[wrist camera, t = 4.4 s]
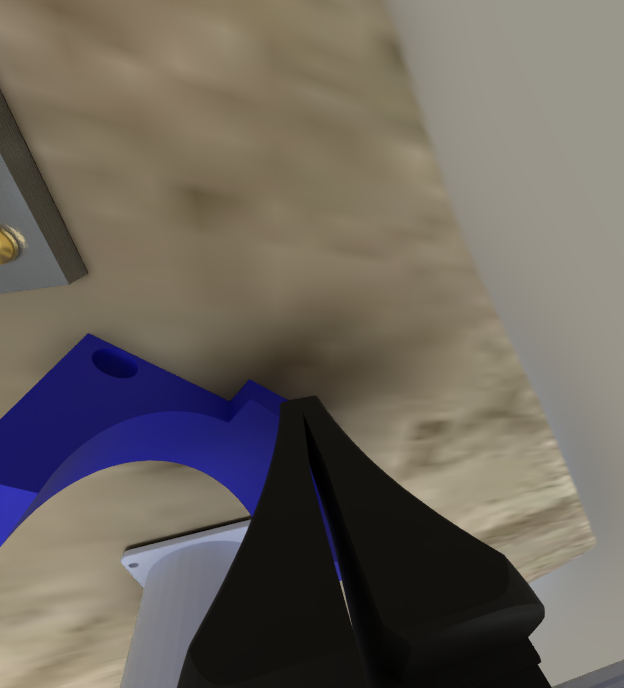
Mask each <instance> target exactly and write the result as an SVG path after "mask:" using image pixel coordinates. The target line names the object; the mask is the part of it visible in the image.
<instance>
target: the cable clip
mask: <svg viewBox="0 0 624 688" xmlns="http://www.w3.org/2000/svg"><path fill="white" fill-rule="evenodd" d="M285 401H288V400H287V399H285V398H283V397H281V396H279V395H277V394H276V393H274V392H272V391H270V390H268V389H266V388H265V387H263V386H261V385H259V384H257V383H255V382H253V381H252V380H250V379H249V380H248V382H247V383H246V384H245V385H244V386H243V387H242V388H241V390H240V391H239V392H238V393H237V394H236V395H235V396H234V398H233V399H232V400H231V401H228V400H226V399H224V398H222V397H219V396H217V395H215V394H213V393H211V392H209V391H207V390H205V389H203V388H201V387H199V386H197V385H195V384H193V383H190V382H188V381H186V380H184V379H182V378H180V377H178V376H176V375H174V374H172V373H170V372H168V371H166V370H164V369H161V368H159V367H157V366H155V365H153V364H151V363H149V362H147V361H145V360H143V359H141V358H139V357H137V356H135V355H132V354H130V353H128V352H126V351H124V350H122V349H120V348H118V347H116V346H114V345H112V344H110V343H108V342H106V341H103V340H101V339H99V338H97V337H95V336H93V335H91V334H89V333H88V334H87V335H86V336H85V337H84V338H83V339H82V340H81V341H80V342H79V343H78V344H77V345H76V346H75V347H74V348H73V349H72V350H71V351H70V352H69V353H68V354H67V355H66V356H65V357H64V358H62V359H61V360H60V361H59V362H58V363H57V364H56V365H55V366H54V367H53V368H52V369H51V370H50V371H49V372H48V373H47V374H46V375H45V376H44V377H43V378H42V379H41V380H40V381H39V382H38V383H37V384H36V385H35V386H34V387H33V388H32V389H31V390H30V391H29V392H28V393H27V394H26V395H25V396H24V397H23V398H22V399H21V400H20V401H19V402H18V403H17V404H16V405H15V406H14V407H13V408H11V409H10V410H9V411H8V412H7V413H6V414H5V415H4V416H3V417H2V418H1V419H0V547H1V546H2V544H3V543H4V542H5V541H6V540H7V539H8V537H9V536H10V535H11V534H12V533H13V532H14V531H15V529H16V528H17V527H18V526H19V525H20V524H21V523H22V522H23V521H24V520H25V519H26V518H27V517H28V516H29V515H30V514H32V513H33V512H34V511H35V510H36V509H37V508H38V507H40V506H41V505H42V504H43V503H44V502H46V501H47V500H48V499H49V498H51V497H52V496H54V495H55V494H56V493H58V492H59V491H61V490H62V489H64V488H65V487H67V486H69V485H70V484H72V483H74V482H76V481H78V480H79V479H81V478H83V477H85V476H88V475H90V474H92V473H94V472H97V471H99V470H102V469H105V468H108V467H111V466H115V465H119V464H123V463H128V462H135V461H147V460H156V461H168V462H175V463H179V464H183V465H186V466H189V467H192V468H195V469H197V470H200V471H202V472H204V473H206V474H208V475H209V476H211V477H213V478H214V479H216V480H217V481H219V482H220V483H222V484H223V485H224V486H225V487H227V488H228V489H229V490H230V491H231V492H232V493H233V494H234V495H235V496H236V497H237V498H238V499H239V500H240V501H241V503H242V504H243V505H244V506H245V507H246V509H247V510H248V512H249V513H250V514H251V516H252V517H253V514H254V512H255V509H256V506H257V504H258V501H259V498H260V495H261V493H262V490H263V487H264V484H265V480H266V477H267V474H268V470H269V467H270V463H271V459H272V456H273V452H274V447H275V442H276V437H277V432H278V425H279V416H280V407H279V405H280V404H281V403H282V402H285ZM310 470H311V468H310ZM311 475H312V472H311ZM312 479H313V483H314V487H315V491H316V495H317V499H318V502H319V506H320V510H321V514H322V518H323V522H324V526H325V530H326V533H327V537H328V541H329V545H330V548H331V552H332V556H333V560H334V564H335V567H336V571H337V575H338V578H339V581H341V580H342V578H341V574H340V570H339V565H338V561H337V557H336V552H335V548H334V544H333V539H332V536H331V532H330V529H329V525H328V522H327V519H326V516H325V512H324V509H323V506H322V503H321V500H320V497H319V494H318V490H317V487H316V484H315V481H314V478H313V475H312Z"/></svg>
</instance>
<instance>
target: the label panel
mask: <svg viewBox="0 0 624 688" xmlns="http://www.w3.org/2000/svg"><path fill="white" fill-rule="evenodd" d="M86 274H88V273H87V271H86V268H85V266H84V264H83V262H82V260H81V258H80V256H79V254H78V252H77V250H76V248H75V246H74V244H73V241H72V239H71V237H70V235H69V233H68V231H67V229H66V227H65V225H64V223H63V221H62V219H61V216H60V214H59V212H58V210H57V208H56V206H55V204H54V202H53V200H52V198H51V196H50V194H49V192H48V189H47V187H46V185H45V183H44V181H43V179H42V177H41V175H40V173H39V171H38V169H37V167H36V164H35V162H34V160H33V158H32V156H31V154H30V152H29V150H28V148H27V146H26V144H25V142H24V140H23V137H22V135H21V133H20V131H19V129H18V127H17V125H16V123H15V121H14V119H13V117H12V115H11V113H10V110H9V108H8V106H7V104H6V102H5V100H4V98H3V96H2V94H1V92H0V293H7V292H15V291H22V290H30V289H38V288H46V287H54V286H61V285H69V284H71V283H72V282H74V281H76V280H77V279H79V278H81V277H82V276H84V275H86Z"/></svg>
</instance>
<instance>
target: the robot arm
mask: <svg viewBox="0 0 624 688" xmlns="http://www.w3.org/2000/svg"><path fill="white" fill-rule="evenodd" d="M279 407H280V416H279V425H278V432H277V437H276V442H275V447H274V452H273V456H272V459H271V463H270V467H269V470H268V474H267V477H266V480H265V484H264V487H263V490H262V493H261V495H260V498H259V501H258V504H257V506H256V509H255V512H254V514H253V517H252V519H251V520H247V521H243V522H239V523H235V524H231V525H227V526H223V527H219V528H215V529H211V530H207V531H203V532H199V533H195V534H191V535H187V536H183V537H179V538H175V539H171V540H167V541H162V542H158V543H154V544H150V545H146V546H142V547H138V548H134V549H130V550H127V551H125V552H124V553H123V555H122V558H121V563H122V564H123V565H124V567H125V568H126V569H127V570H128V571H129V572H130V573H131V575H132V576H133V577H134V578H135V579H136V580H137V581H138V583H139V584H140V585H141V586H142V587H143V588H144V591H143V595H142V599H141V603H140V607H139V611H138V615H137V619H136V623H135V628H134V632H133V636H132V640H131V644H130V648H129V652H128V656H127V660H126V664H125V668H124V672H123V676H122V681H121V685H120V688H624V660H622V661H619V662H616V663H614V664H611V665H609V666H606V667H603V668H601V669H598V670H595V671H593V672H590V673H587V674H585V675H582V676H580V677H577V678H575V679H572V680H569V681H567V682H564V683H561V684H559V685H556V686H553V687H551V686H550V684H549V682H548V681H547V679H546V677H545V676H544V674H543V672H542V671H541V669H540V668H539V666H538V664H539V663H540V662H541V659H540V656H539V655H538V653H537V651H536V650H535V648H534V646H533V645H532V643H531V642H530V640H529V638H528V637H529V636H530V634H531V633H532V632H533V631H534V630H535V629H536V628H537V627H538V625H539V624H540V623H541V622H542V620H543V619H544V617H545V610H544V606H543V604H542V603H541V601H540V600H539V599H538V597H537V596H536V594H535V593H534V591H533V590H532V589H531V587H530V586H529V584H528V583H527V582H526V581H525V579H524V578H523V577H522V576H521V574H520V573H519V572H518V571H517V570H516V568H515V567H514V566H513V565H512V564H511V562H510V561H509V560H508V559H507V558H506V557H505V555H503V554H502V553H500V552H498V551H497V550H495V549H493V548H492V547H490V546H488V545H487V544H485V543H483V542H482V541H480V540H478V539H477V538H475V537H473V536H472V535H470V534H469V533H467V532H466V531H464V530H462V529H461V528H459V527H458V526H456V525H455V524H453V523H452V522H450V521H449V520H447V519H446V518H444V517H443V516H441V515H440V514H438V513H437V512H435V511H434V510H433V509H431V508H430V507H429V506H427V505H426V504H424V503H423V502H422V501H420V500H419V499H418V498H416V497H415V496H414V495H412V494H411V493H410V492H408V491H407V490H406V489H404V488H403V487H402V486H401V485H399V484H398V483H397V482H396V481H394V480H393V479H392V478H391V477H390V476H388V475H387V474H386V473H385V472H384V471H383V470H382V469H380V468H379V467H378V466H377V465H376V464H375V463H374V462H373V461H372V460H371V459H370V458H369V457H368V456H366V455H365V454H364V453H363V452H362V451H361V449H360V448H359V447H358V446H357V445H356V444H355V443H354V442H353V441H352V440H351V439H350V438H349V437H348V436H347V435H346V433H345V432H344V431H343V430H342V429H341V428H340V427H339V425H338V424H337V423H336V422H335V421H334V419H333V418H332V417H331V415H330V414H329V413H328V411H327V410H326V409H325V407H324V406H323V404H322V403H321V401H320V400H319V398H318V397H317V396H310V397H305V398H300V399H295V400H290V401H285V402H282V403H281V404H280V405H279ZM310 468H311V470H310ZM311 472H312V475H313V478H314V481H315V484H316V487H317V490H318V494H319V497H320V500H321V503H322V506H323V509H324V512H325V516H326V519H327V522H328V525H329V529H330V532H331V536H332V539H333V544H334V548H335V552H336V557H337V561H338V565H339V570H340V574H341V578H342V583H343V587H344V592H345V596H346V601H347V605H348V609H349V614H350V618H351V622H350V618H349V614H348V611H347V607H346V604H345V600H344V596H343V593H342V589H341V585H340V582H339V578H338V575H337V571H336V567H335V564H334V560H333V556H332V552H331V548H330V545H329V541H328V537H327V533H326V530H325V526H324V522H323V518H322V514H321V510H320V506H319V502H318V499H317V495H316V491H315V487H314V483H313V479H312V475H311ZM351 623H352V625H351ZM352 627H353V629H352Z"/></svg>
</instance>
